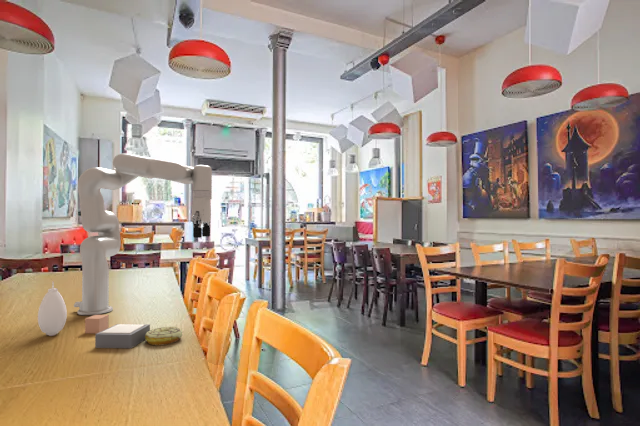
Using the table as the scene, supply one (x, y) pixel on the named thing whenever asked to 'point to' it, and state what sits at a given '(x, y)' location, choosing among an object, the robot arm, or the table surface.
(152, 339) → the decorated donut
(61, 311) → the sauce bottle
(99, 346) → the grey flat square block
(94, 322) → the terracotta cube
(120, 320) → the table surface
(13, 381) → the table surface
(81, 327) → the table surface
